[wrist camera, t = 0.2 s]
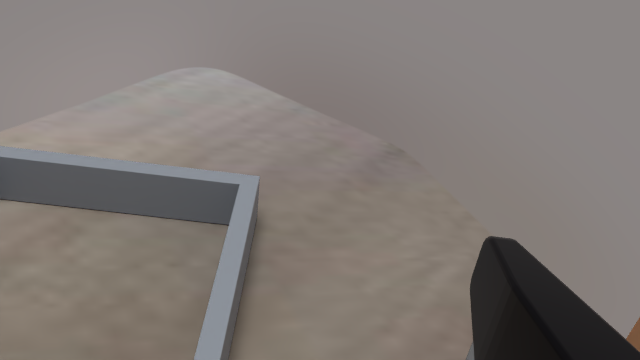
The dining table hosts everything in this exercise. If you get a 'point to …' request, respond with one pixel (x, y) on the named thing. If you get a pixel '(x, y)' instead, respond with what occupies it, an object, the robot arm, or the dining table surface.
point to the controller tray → (151, 212)
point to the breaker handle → (635, 336)
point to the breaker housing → (471, 353)
